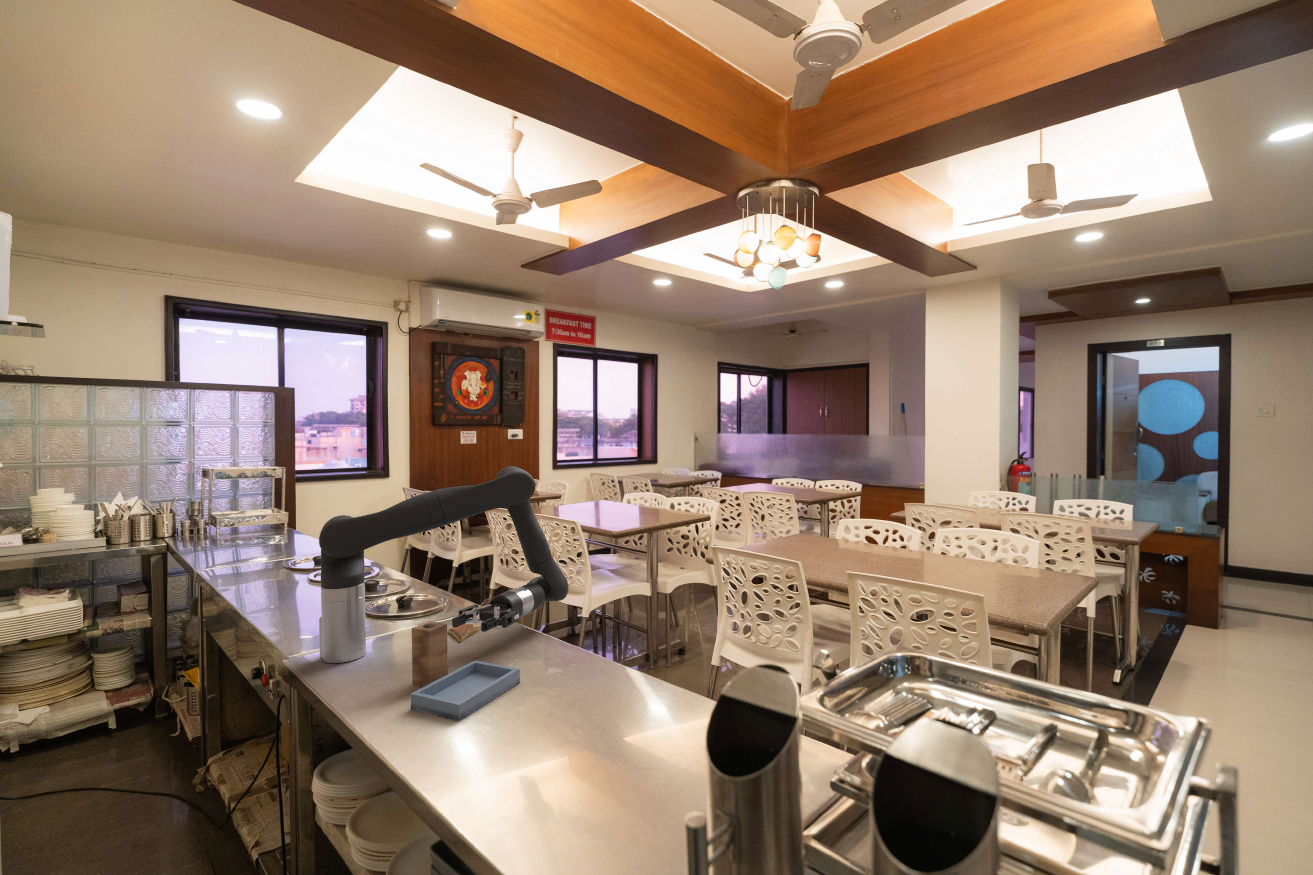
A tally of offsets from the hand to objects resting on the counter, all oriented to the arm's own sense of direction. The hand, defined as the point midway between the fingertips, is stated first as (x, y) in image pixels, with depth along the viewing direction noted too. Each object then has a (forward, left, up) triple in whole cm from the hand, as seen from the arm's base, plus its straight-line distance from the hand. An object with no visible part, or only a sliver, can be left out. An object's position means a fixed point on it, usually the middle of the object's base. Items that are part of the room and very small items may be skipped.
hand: (467, 625), depth 139 cm
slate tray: (+12, -13, -9) cm, 20 cm away
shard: (-14, +16, -9) cm, 23 cm away
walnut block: (0, -11, -9) cm, 14 cm away
